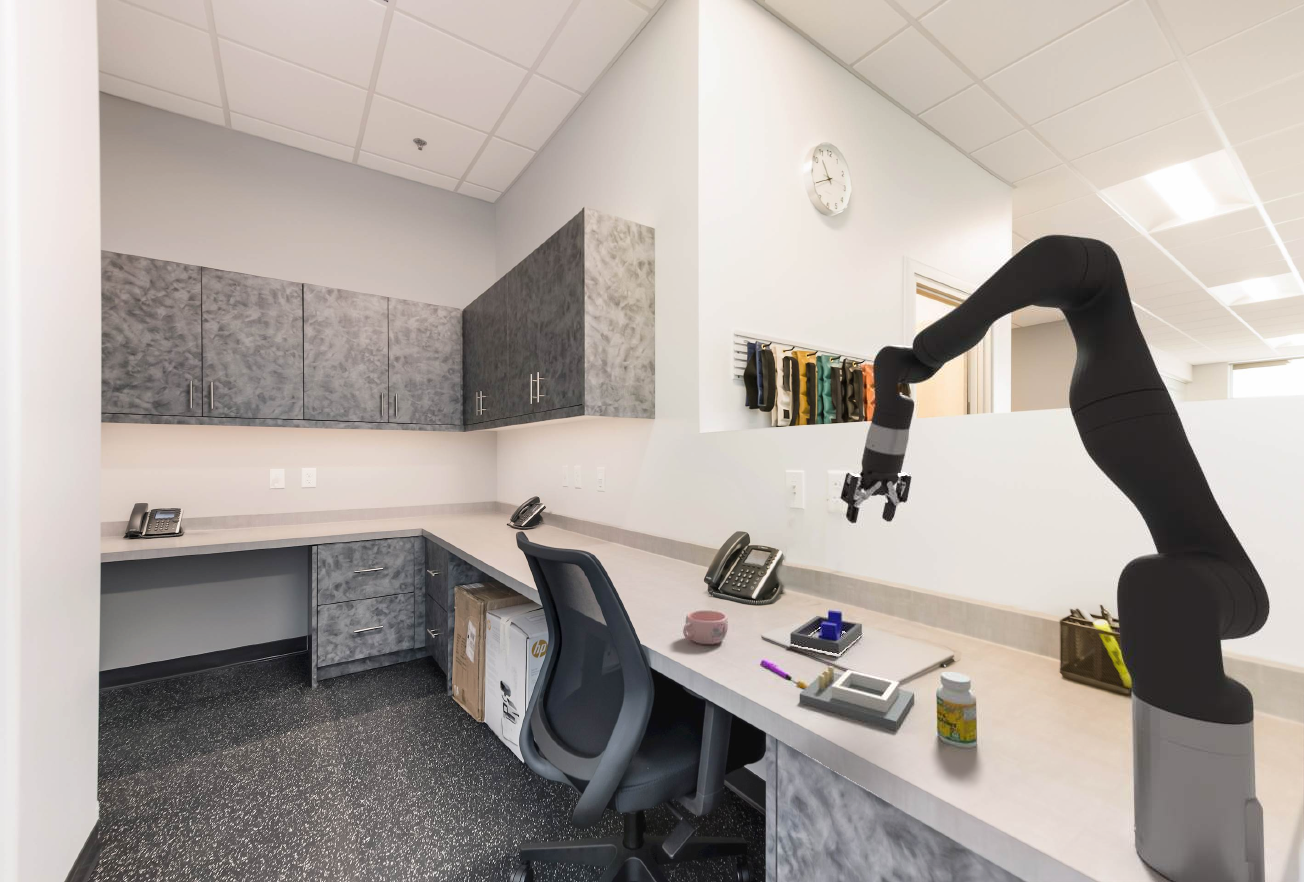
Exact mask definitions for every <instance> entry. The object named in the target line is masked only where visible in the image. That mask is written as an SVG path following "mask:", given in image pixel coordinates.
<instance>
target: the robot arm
mask: <svg viewBox="0 0 1304 882" xmlns="http://www.w3.org/2000/svg"><path fill="white" fill-rule="evenodd" d="M1126 280H1127V279H1126V277H1125V273H1124V270H1123V267H1122V263H1121V261H1120V258H1119V256H1118V254H1117V253H1116V252H1115V250H1114V249H1113V248H1112V246H1111V245H1109V244H1107V243H1106V242H1105V241H1103V240H1100V239H1096V238H1095V239H1094V238H1090V237H1084V236H1083V237H1081V236H1074V235H1068V234H1047V235H1042V236H1040V237H1037V238H1035V239H1033V240H1032V241H1030V242H1029V243H1027V244H1025V246H1023V247H1022V248H1021V249H1019V250H1018V251H1017V252H1016V253H1015V254H1014V255H1012V256H1011V257H1010V258H1009V259H1008V260H1007V261H1005V263H1004V264H1003V265H1001V267H1000V268H998V269H997V270H996V271H995V272H994V273H993V274H992V275H991V276H990V277H988V279H987V280H986V281H984V282H983V283H981V285H980V286H979V287H978V288H977V289H976V290H974V292H973V293H971V295H969V296H968V297H967V298H966V299H964V301H962V302H961V303H960V304H959V305H958V306H956V307H955V308H953V309H952V310H951V311H949V312H948V313H947V314H945V315H944V316H942V317H940V318H939V319H937V320H935V321H934V322H932V323H931V324H930V325H928V326H927V327H924V329H922V330H921V331H919V332H918V333H917V334H916V335H915V337H914V339H913V342H912V345H897V344H896V345H895V344H890V345H886V346H883V347H882V348H881V349H880V350H879V351H878V352H877V354H876V356H875V357H874V361H873V366H872V373H873V383H874V384H873V385H874V386H873V387H874V388H873V389H874V400H875V401H874V407H873V412H872V417H871V422H870V425H869V428H868V431H867V435H866V439H865V443H864V444H865V445H864V449H863V454H862V459H861V472H860V473H859V474H853V473H851V472H850V471H849V472H846V474H845V478H844V482H843V486H842V489H841V494H840V500H842V502H845V503H846V504H847V509H846V513H845V517H846V519H847V521H848V522H850V523H851V524H856V523H857V520H858V515H859V511H860V506H861V504H863V502H864V501H867V500H868V499H869V498H870V497H871V496H872V497H876V496H885V499H886V501H885V502H884V507H883V512H882V517H881V518H882V519H883V520H884V521H886V522H890V523H891V522H892V521H893V519H894V518H895V514H896V511H897V506H898V505H899V504H900V503H907V501H908V498H909V494H910V489H911V488H910V487H911V484H912V483H911V482H912V476H911V475H909V474H908V473H906V472H903V471H902V469H903V464H904V460H905V456H906V452H907V447H908V444H909V443H908V442H909V439H910V438H909V436H910V428H911V425H912V419H913V415H914V409H915V401H914V400H913V398H911V397H909V396H908V395H904V394H900V388H899V387H900V386H899V384H921V383H923V382H926V381H929V380H930V379H931V378H932V377H934V376H935V375H936V374H937V373H938V371H939V370H940V369H942V368H943V367H944V365H945V364H946V363H948V362H950V361H952V360H954V359H955V358H957V357H960V356H962V355H963V354H965V353H966V352H968V351H970V350H971V349H973V348H974V347H975V346H978V344H979V343H981V341H982V340H983V339H984V338H985V336H986V334H987V333H988V331H989V330H990V327H992V326H993V324H994V323H995V322H996V321H998V320H999V319H1001V318H1002V317H1005V316H1006V315H1009V314H1012V313H1014V312H1017V311H1018V310H1022V309H1024V308H1028V307H1032V306H1036V307H1040V308H1051V309H1058V310H1060V311H1061V312H1062V314H1063V315H1064V317H1065V319H1066V321H1067V322H1068V323H1067V324H1068V325H1069V328H1070V330H1071V333H1072V336H1073V338H1074V342H1075V345H1076V359H1075V364H1074V369H1073V372H1072V377H1071V381H1070V386H1069V390H1068V391H1069V393H1068V402H1069V409H1070V411H1071V415H1072V418H1073V421H1074V423H1075V426H1076V429H1077V432H1078V434H1079V437H1080V440H1081V442H1082V445H1083V447H1084V449H1085V451H1086V453H1087V454H1088V456H1089V458H1091V460H1092V461H1093V463H1094V464H1095V465H1096V466H1097V468H1099V470H1101V472H1102V473H1103V474H1105V476H1106V477H1107V478H1108V479H1109V480H1110V481H1111V482H1112V483H1113V485H1115V486H1116V488H1118V489H1119V490H1120V491H1121V492H1122V493H1123V494H1124V495H1125V496H1126V497H1127V499H1128V500H1129V501H1130V502H1131V503H1132V504H1133V505H1134V507H1135V508H1136V509H1137V511H1138V512H1139V513H1140V515H1141V517H1142V518H1143V520H1144V522H1145V525H1146V527H1147V528H1148V531H1149V533H1150V536H1151V538H1152V540H1153V543H1154V547H1155V548H1156V553H1151V554H1144V555H1142V556H1141V555H1140V556H1137V557H1136V558H1134V559H1132V560H1131V561H1129V562H1128V563H1126V565H1125V566H1124V568H1123V569H1122V571H1121V573H1120V575H1119V578H1118V581H1117V588H1116V605H1117V606H1116V607H1117V608H1116V609H1117V617H1118V618H1117V619H1118V631H1119V645H1120V652H1121V659H1122V661H1123V664H1124V666H1125V669H1126V671H1127V672H1128V675H1129V677H1130V681H1131V717H1132V718H1131V719H1132V720H1131V721H1132V722H1131V724H1132V730H1131V731H1132V765H1133V766H1132V767H1133V810H1134V811H1133V812H1134V813H1133V814H1134V822H1133V823H1134V824H1133V831H1134V847H1135V850H1136V852H1137V854H1138V855H1139V856H1140V858H1141V859H1142V860H1143V861H1144V862H1145V863H1146V864H1147V865H1148V866H1150V867H1151V868H1152V869H1154V870H1155V871H1156V872H1157V873H1158V874H1159V873H1160V875H1162V876H1164V877H1165V878H1167V879H1169V880H1171V881H1172V882H1266V867H1265V836H1264V835H1265V834H1264V832H1265V830H1264V826H1265V825H1264V808H1263V806H1262V803H1260V801H1259V799H1258V797H1257V795H1256V794H1257V793H1256V792H1257V791H1256V766H1255V765H1256V762H1255V761H1256V759H1255V757H1256V756H1255V726H1254V724H1255V723H1254V722H1255V721H1254V718H1255V716H1254V715H1255V712H1254V711H1255V710H1254V698H1253V695H1252V693H1251V691H1250V690H1249V688H1247V687H1246V686H1245V685H1244V684H1242V683H1241V682H1239V681H1238V680H1236V679H1234V678H1231V677H1229V676H1227V675H1226V672H1225V668H1224V661H1223V660H1224V659H1223V649H1222V641H1226V640H1236V639H1237V640H1238V639H1243V638H1247V637H1249V636H1253V635H1254V634H1256V633H1258V632H1259V631H1261V629H1262V628H1263V627H1264V626H1265V625H1266V623H1267V621H1268V617H1269V614H1270V609H1271V608H1270V599H1269V595H1268V592H1267V591H1268V590H1267V589H1266V585H1265V584H1264V583H1265V582H1264V581H1263V579H1262V578H1261V575H1260V574H1259V572H1258V570H1257V568H1256V567H1255V565H1254V563H1253V562H1252V560H1251V559H1250V557H1249V555H1248V553H1247V552H1246V550H1245V548H1244V546H1243V545H1242V543H1241V542H1240V540H1239V538H1238V537H1237V535H1236V534H1235V531H1234V530H1233V529H1232V526H1231V525H1230V523H1229V521H1228V520H1227V518H1226V517H1225V515H1224V512H1222V510H1221V508H1220V506H1219V504H1218V502H1217V500H1216V499H1215V496H1214V494H1213V492H1212V489H1211V487H1210V485H1209V483H1208V480H1207V478H1206V475H1205V473H1204V470H1203V469H1202V467H1201V465H1200V464H1201V463H1200V462H1199V460H1198V458H1197V456H1196V454H1195V452H1194V449H1193V447H1192V446H1191V443H1190V441H1189V439H1188V435H1187V433H1186V430H1185V428H1184V425H1183V422H1182V420H1181V417H1180V415H1179V413H1178V410H1177V408H1176V406H1175V403H1174V400H1173V399H1172V397H1171V394H1170V392H1169V390H1168V387H1167V386H1166V384H1165V382H1164V380H1163V378H1162V377H1161V374H1160V372H1159V371H1158V370H1159V369H1158V368H1157V365H1156V363H1155V360H1154V358H1153V355H1152V353H1151V350H1150V347H1149V345H1148V343H1147V341H1146V339H1145V337H1144V334H1143V332H1142V331H1141V330H1142V329H1141V327H1140V326H1139V323H1138V320H1137V317H1136V314H1135V312H1134V311H1135V310H1134V307H1133V303H1132V300H1131V296H1130V291H1129V289H1128V284H1127V281H1126ZM894 486H895V487H894ZM862 491H864V492H862Z"/></svg>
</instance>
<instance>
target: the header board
mask: <svg viewBox="0 0 1304 882" xmlns="http://www.w3.org/2000/svg"><path fill="white" fill-rule="evenodd" d="M834 668H835V667H834V666H832V665H830V666H829V665H828V666H827V670H825V669H824V670H823V672H822V673H821V674H819V675H818V676H817V677H816V679H814V680H813V681H812V682H811V683H810V684H809V685H807V686H808V687H807V688H806V689H803V690H802V691H801V692H799V703H800V704H804V705H807V706H810V707H814V708H817V709H820V710H821V709H822V710H824V711H827V712H830V713H833V714H838V715H841V716H844V717H847V718H851V719H854V720H858V721H862V722H865V723H869V724H871V725H875V726H879V727H882V728H885V729H888V730H891V731H898V728H900V725H901V724H902V722H903V720H904V719H905V717H906V716H907V714H908V712H909V710H910V709H911V708H912V706H913V704H914V702H915V692H913V691H909V690H905V689H901V688H900V682H899V681H896V680H891V679H887V678H883V677H880V676H876V675H870V674H866V673H864V672H863V673H862V672H858V671H853V670H850V669H847V670H846V671H845V672H844V673H843V674H840V673H837V672H835V669H834Z"/></svg>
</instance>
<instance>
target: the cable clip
mask: <svg viewBox="0 0 1304 882" xmlns="http://www.w3.org/2000/svg"><path fill="white" fill-rule="evenodd" d="M827 618H828V622H822V624H821V629H820V630H819V633H818V638H822V639H827V640H832V641H837V640H838V639H839V638H840V637H841V634H842V620H843V612H842V611H841V610H840V611H839V610H833V609H832V610H831V609H829V610H828V611H827ZM842 635H843V634H842Z"/></svg>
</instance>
